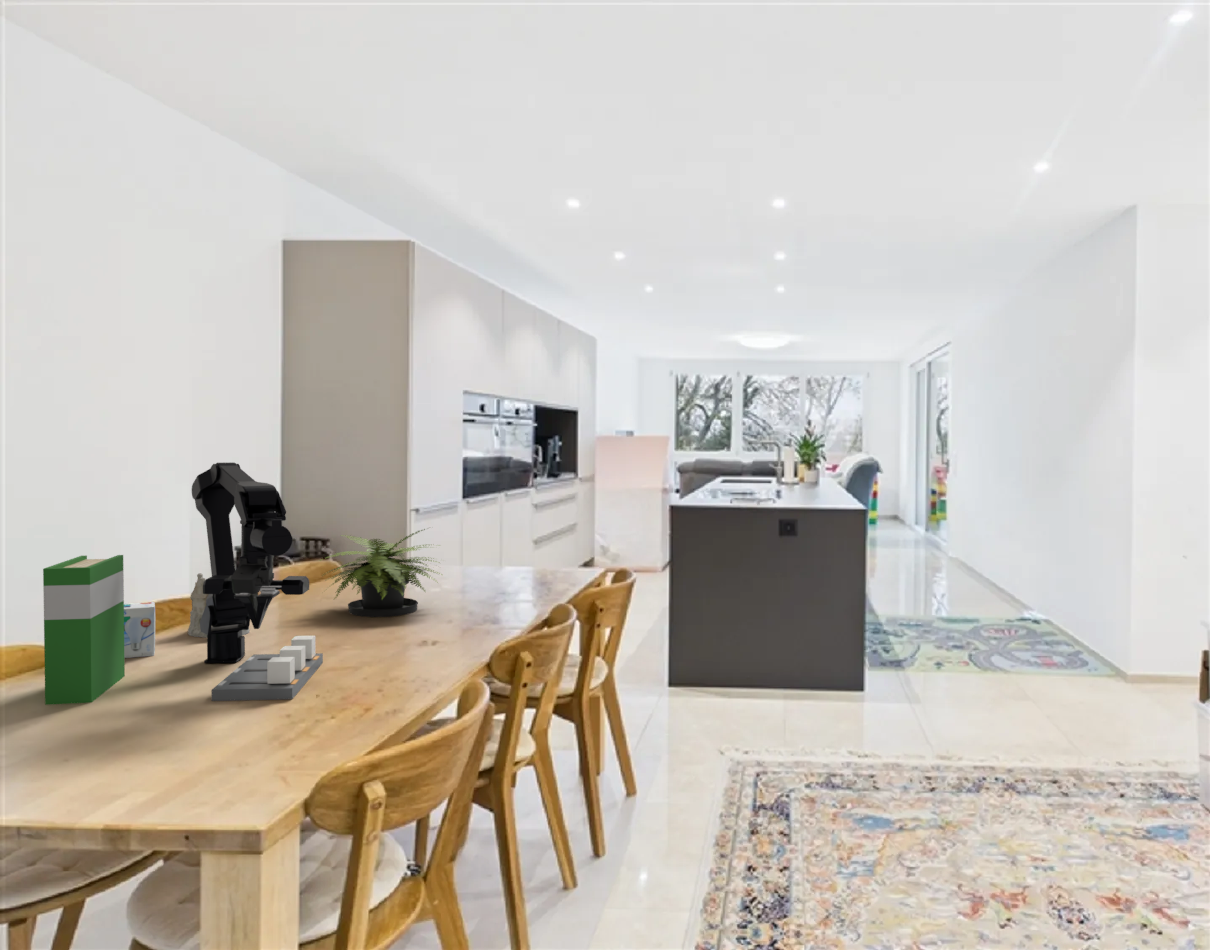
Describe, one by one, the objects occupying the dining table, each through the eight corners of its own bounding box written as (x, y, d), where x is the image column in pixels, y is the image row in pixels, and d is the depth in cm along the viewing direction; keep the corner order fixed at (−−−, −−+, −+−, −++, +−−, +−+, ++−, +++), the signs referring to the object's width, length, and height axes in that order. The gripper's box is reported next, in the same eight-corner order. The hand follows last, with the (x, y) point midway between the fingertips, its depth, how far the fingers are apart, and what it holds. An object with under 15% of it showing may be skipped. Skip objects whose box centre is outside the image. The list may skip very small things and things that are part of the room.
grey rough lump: (220, 640, 203) (221, 575, 203) (173, 635, 210) (175, 572, 211) (273, 632, 216) (275, 571, 217) (228, 627, 224) (229, 568, 225)
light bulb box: (98, 661, 183) (97, 610, 183) (100, 654, 189) (99, 604, 189) (155, 655, 188) (155, 606, 188) (155, 649, 194) (155, 600, 194)
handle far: (291, 659, 177) (291, 639, 177) (295, 654, 181) (295, 635, 181) (311, 658, 178) (311, 639, 178) (315, 654, 181) (315, 635, 181)
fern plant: (475, 615, 235) (476, 526, 234) (329, 630, 214) (329, 533, 213) (425, 594, 266) (426, 515, 265) (294, 605, 246) (294, 520, 245)
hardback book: (83, 677, 170) (81, 555, 170) (124, 676, 172) (123, 554, 171) (45, 704, 153) (43, 568, 152) (91, 702, 155) (89, 567, 154)
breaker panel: (211, 700, 156) (211, 689, 156) (253, 663, 182) (253, 653, 182) (292, 699, 158) (292, 687, 158) (322, 662, 184) (322, 652, 184)
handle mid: (279, 670, 168) (279, 650, 168) (284, 666, 172) (284, 645, 172) (301, 670, 169) (301, 649, 169) (305, 665, 172) (305, 645, 172)
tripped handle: (267, 683, 159) (267, 661, 159) (272, 678, 163) (272, 657, 163) (290, 683, 160) (290, 661, 160) (294, 678, 163) (294, 656, 163)
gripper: (191, 554, 161) (191, 638, 162) (295, 556, 163) (295, 638, 164) (213, 546, 172) (213, 624, 173) (310, 547, 174) (309, 625, 175)
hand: (257, 628), depth 171 cm, fingers closed
